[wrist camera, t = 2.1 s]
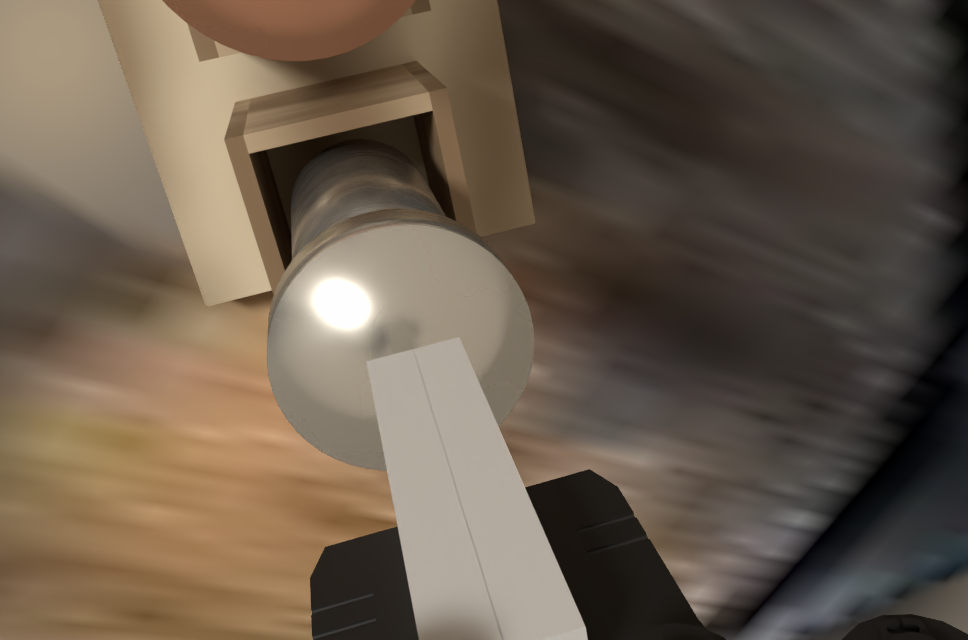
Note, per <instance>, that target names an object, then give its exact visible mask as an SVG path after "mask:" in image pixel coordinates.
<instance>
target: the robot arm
mask: <svg viewBox="0 0 968 640" xmlns="http://www.w3.org/2000/svg"><path fill="white" fill-rule="evenodd" d="M366 362H367V367H368V372H369V378H370V383H371V388H372V393H373V399H374V404H375V409H376V415H377V420H378V425H379V430H380V436H381V441H382V446H383V452H384V457H385V462H386V468H387V473H388V478H389V483H390V489H391V494H392V499H393V505H394V510H395V515H396V521H397V526H398V527H394V528H391V529H387V530H384V531H380V532H377V533H373V534H370V535H366V536H363V537H359V538H356V539H352V540H348V541H345V542H341V543H338V544H334V545H331V546H327V547H325V549H324V551H323V553H322V555H321V557H320V559H319V561H318V563H317V565H316V567H315V569H314V571H313V573H312V575H311V577H310V589H311V610H312V615H311V617H312V636H313V640H726V639H725V638H724V637H722V636H719V635H717V634H715V633H713V632H711V631H709V630H707V629H706V628H705V627H704V626H703V624H702V623H701V622H700V621H699V620H698V618H697V617H696V615H695V613H694V612H693V610H692V608H691V607H690V605H689V603H688V602H687V600H686V598H685V597H684V595H683V594H682V592H681V590H680V589H679V587H678V585H677V584H676V582H675V580H674V579H673V577H672V575H671V574H670V572H669V570H668V569H667V567H666V565H665V564H664V562H663V561H662V559H661V557H660V556H659V554H658V552H657V551H656V549H655V547H654V546H653V544H652V542H651V541H650V539H648V538H647V535H646V532H645V531H644V529H643V528H642V526H641V524H640V523H639V521H638V519H637V518H635V517H634V513H633V511H632V509H631V508H630V506H629V504H628V503H627V501H626V500H625V498H624V496H623V495H622V493H621V491H620V490H619V488H618V487H617V486H615V485H614V484H612V483H611V482H609V481H607V480H606V479H604V478H603V477H601V476H599V475H598V474H596V473H595V472H593V471H591V470H590V469H589V470H585V471H582V472H578V473H575V474H571V475H568V476H564V477H561V478H557V479H554V480H550V481H547V482H543V483H540V484H536V485H533V486H529V487H526V488H525V487H524V484H523V482H522V480H521V477H520V475H519V473H518V471H517V468H516V466H515V464H514V461H513V459H512V457H511V454H510V452H509V450H508V448H507V445H506V443H505V441H504V438H503V436H502V434H501V432H500V429H499V427H498V425H497V422H496V420H495V418H494V415H493V413H492V411H491V409H490V406H489V404H488V402H487V399H486V397H485V395H484V392H483V390H482V388H481V386H480V383H479V381H478V379H477V376H476V374H475V372H474V370H473V367H472V365H471V363H470V360H469V358H468V356H467V353H466V351H465V349H464V347H463V344H462V342H461V340H460V337H457V338H454V339H450V340H446V341H442V342H438V343H435V344H431V345H427V346H423V347H419V348H416V349H412V350H408V351H404V352H400V353H396V354H393V355H389V356H385V357H381V358H377V359H374V360H370V361H366ZM842 640H968V634H966V633H964V632H962V631H961V630H959V629H957V628H955V627H953V626H951V625H949V624H947V623H945V622H943V621H939V620H935V619H930V618H926V617H922V616H917V615H913V614H907V615H882V616H879V617H876V618H874V619H871V620H868V621H865V622H862V623H860V624H858V625H857V626H856V627H855V628H854V629H853V630H851V631H850V632H849V633H848V634H847V635H846V636H845V637H844V638H843V639H842Z"/></svg>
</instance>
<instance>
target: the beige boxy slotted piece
mask: <svg viewBox="0 0 968 640" xmlns="http://www.w3.org/2000/svg"><path fill="white" fill-rule="evenodd" d="M98 3H99V5H100V8H101V11H102V14H103V16H104V19H105V22H106V25H107V28H108V30H109V34H110V37H111V39H112V42H113V45H114V48H115V51H116V53H117V56H118V59H119V61H120V65H121V68H122V70H123V73H124V76H125V79H126V81H127V84H128V87H129V90H130V93H131V96H132V98H133V101H134V104H135V107H136V110H137V112H138V116H139V118H140V121H141V124H142V127H143V130H144V132H145V135H146V138H147V141H148V144H149V147H150V149H151V152H152V155H153V158H154V161H155V163H156V166H157V169H158V172H159V175H160V177H161V180H162V183H163V186H164V189H165V191H166V195H167V197H168V200H169V203H170V205H171V209H172V211H173V214H174V217H175V220H176V223H177V226H178V228H179V231H180V234H181V237H182V240H183V242H184V245H185V248H186V251H187V254H188V257H189V259H190V262H191V265H192V268H193V271H194V274H195V276H196V279H197V282H198V285H199V288H200V290H201V293H202V296H203V299H204V302H205V305H206V307H208V306H212V305H216V304H220V303H224V302H228V301H231V300H235V299H239V298H243V297H247V296H251V295H255V294H259V293H263V292H267V291H271V290H272V292H273V296H274V293H275V290H276V288H277V285H278V283H279V281H280V279H281V277H282V276H283V274H284V272H285V270H286V269H287V267H288V266H289V265H290V263H291V262H292V236H291V197H292V191H293V188H294V185H295V182H296V180H297V178H298V176H299V174H300V172H301V171H302V169H303V168H304V166H305V165H306V164H307V163H308V162H309V161H310V160H311V158H313V157H314V156H315V155H316V154H317V153H319V152H320V151H322V150H324V149H325V148H327V147H329V146H331V145H333V144H336V143H339V142H342V141H347V140H353V139H366V140H374V141H378V142H382V143H385V144H387V145H390V146H392V147H394V148H395V149H397V150H399V151H400V152H402V153H403V154H404V155H406V156H407V157H408V158H409V159H410V160H411V161H412V162H413V163H414V165H415V166H416V167H417V168H418V170H419V171H420V173H421V175H422V176H423V178H424V180H425V181H426V183H427V185H428V186H429V188H430V190H431V192H432V193H433V195H434V197H435V198H436V200H437V202H438V203H439V205H440V207H441V208H442V210H443V212H444V213H445V215H446V217H447V218H450V219H452V220H454V221H456V222H458V223H460V224H462V225H464V226H466V227H467V228H469V229H470V230H472V231H473V232H475V233H476V234H478V235H479V236H480V237H485V236H489V235H493V234H497V233H501V232H505V231H509V230H513V229H517V228H521V227H525V226H528V225H532V224H536V221H535V216H534V210H533V204H532V198H531V193H530V187H529V181H528V175H527V169H526V164H525V158H524V152H523V146H522V140H521V135H520V129H519V123H518V117H517V112H516V106H515V100H514V94H513V88H512V83H511V77H510V71H509V65H508V59H507V54H506V48H505V42H504V36H503V31H502V25H501V19H500V13H499V7H498V2H497V0H415V2H414V3H413V5H412V6H411V7H410V8H409V9H408V10H407V11H406V12H405V13H404V14H403V16H402V17H401V18H400V19H399V20H398V21H397V22H395V23H394V24H393V25H392V26H391V27H389V28H388V29H387V30H386V31H385V32H383V33H382V34H380V35H379V36H377V37H376V38H374V39H372V40H371V41H369V42H368V43H366V44H364V45H362V46H359V47H357V48H355V49H353V50H351V51H348V52H346V53H342V54H339V55H335V56H332V57H329V58H323V59H316V60H310V61H281V60H272V59H265V58H260V57H256V56H252V55H248V54H244V53H242V52H239V51H237V50H234V49H231V48H229V47H226V46H224V45H222V44H220V43H218V42H216V41H214V40H212V39H211V38H209V37H207V36H205V35H203V34H202V33H200V32H199V31H198V30H196V29H195V28H193V27H192V26H190V25H189V24H188V23H186V22H185V21H184V20H183V19H181V18H180V17H179V16H178V15H177V14H176V13H175V12H174V11H172V10H171V9H170V8H169V7H168V6H167V5H166V4H165V3H164V2H163V1H162V0H98Z"/></svg>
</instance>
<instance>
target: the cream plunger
mask: <svg viewBox="0 0 968 640" xmlns="http://www.w3.org/2000/svg"><path fill="white" fill-rule="evenodd" d="M291 236H292V262H291V263H290V265H289V266H288V267H287V269H286V270H285V272H284V274H283V276H282V277H281V279H280V281H279V283H278V285H277V288H276V290H275V293H274V296H273V299H272V302H271V307H270V312H269V318H268V341H267V366H268V376H269V380H270V384H271V387H272V391H273V394H274V396H275V398H276V401H277V403H278V406H279V407H280V409H281V411H282V412H283V414H284V416H285V417H286V419H287V420H288V421H289V423H290V424H291V425H292V426H293V428H294V429H295V430H296V431H297V432H298V433H299V434H300V435H301V436H302V437H303V438H304V439H305V440H306V441H307V442H309V443H310V444H311V445H313V446H314V447H316V448H317V449H318V450H320V451H321V452H323V453H325V454H327V455H329V456H331V457H333V458H335V459H337V460H339V461H342V462H345V463H347V464H350V465H353V466H357V467H362V468H366V469H372V470H381V471H387V468H386V462H385V457H384V452H383V446H382V441H381V436H380V430H379V425H378V420H377V415H376V409H375V404H374V399H373V393H372V388H371V383H370V378H369V372H368V367H367V362H366V361H370V360H374V359H377V358H381V357H385V356H389V355H393V354H396V353H400V352H404V351H408V350H412V349H416V348H419V347H423V346H427V345H431V344H435V343H438V342H442V341H446V340H450V339H454V338H457V337H460V340H461V342H462V344H463V347H464V349H465V351H466V353H467V356H468V358H469V360H470V363H471V365H472V367H473V370H474V372H475V374H476V376H477V379H478V381H479V383H480V386H481V388H482V390H483V392H484V395H485V397H486V399H487V402H488V404H489V406H490V409H491V411H492V413H493V415H494V418H495V420H496V422H497V425H498V426H499V425H500V424H501V423H502V422H503V421H504V420H505V419H506V417H507V416H508V415H509V414H510V412H511V411H512V410H513V408H514V406H515V405H516V403H517V401H518V400H519V398H520V396H521V394H522V392H523V390H524V388H525V385H526V383H527V380H528V377H529V374H530V370H531V366H532V360H533V354H534V331H533V322H532V318H531V314H530V310H529V307H528V304H527V302H526V299H525V297H524V295H523V292H522V291H521V289H520V287H519V286H518V284H517V282H516V281H515V279H514V278H513V276H512V275H511V273H510V272H509V270H508V269H507V267H506V266H505V264H504V263H503V262H502V260H501V259H500V257H499V256H498V255H497V254H496V252H495V251H494V250H493V249H492V247H491V246H490V245H489V244H488V243H487V242H485V241H484V240H483V239H482V238H481V237H480V236H479V235H478V234H476V233H475V232H473V231H472V230H470V229H469V228H467V227H466V226H464V225H462V224H460V223H458V222H456V221H454V220H452V219H450V218H447V217H446V215H445V213H444V212H443V210H442V208H441V207H440V205H439V203H438V202H437V200H436V198H435V197H434V195H433V193H432V192H431V190H430V188H429V186H428V185H427V183H426V181H425V180H424V178H423V176H422V175H421V173H420V171H419V170H418V168H417V167H416V166H415V165H414V163H413V162H412V161H411V160H410V159H409V158H408V157H407V156H406V155H404V154H403V153H402V152H400V151H399V150H397V149H395V148H394V147H392V146H390V145H387V144H385V143H382V142H378V141H374V140H366V139H353V140H347V141H342V142H339V143H336V144H333V145H331V146H329V147H327V148H325V149H324V150H322V151H320V152H319V153H317V154H316V155H315V156H314V157H313V158H311V160H310V161H309V162H308V163H307V164H306V165H305V166H304V168H303V169H302V171H301V172H300V174H299V176H298V178H297V180H296V182H295V185H294V188H293V191H292V197H291Z"/></svg>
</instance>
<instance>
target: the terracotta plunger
mask: <svg viewBox="0 0 968 640" xmlns="http://www.w3.org/2000/svg"><path fill="white" fill-rule="evenodd" d="M162 1H163V2H164V3H165V4H166V5H167V6H168V7H169V8H170V9H171V10H172V11H174V12H175V13H176V14H177V15H178V16H179V17H180V18H181V19H183V20H184V21H185V22H186V23H188V24H189V25H190V26H192V27H193V28H195V29H196V30H198V31H199V32H200V33H202V34H203V35H205V36H207V37H209V38H211V39H212V40H214V41H216V42H218V43H220V44H222V45H224V46H226V47H229V48H231V49H234V50H237V51H239V52H242V53H244V54H248V55H252V56H256V57H260V58H265V59H272V60H281V61H310V60H316V59H323V58H329V57H332V56H335V55H339V54H342V53H346V52H348V51H351V50H353V49H355V48H357V47H359V46H362V45H364V44H366V43H368V42H369V41H371V40H372V39H374V38H376V37H377V36H379V35H380V34H382V33H383V32H385V31H386V30H387V29H388V28H389V27H391V26H392V25H393V24H394V23H395V22H397V21H398V20H399V19H400V18H401V17H402V16H403V14H404V13H405V12H406V11H407V10H408V9H409V8H410V7H411V6H412V5H413V3H414V2H415V0H162Z"/></svg>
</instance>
